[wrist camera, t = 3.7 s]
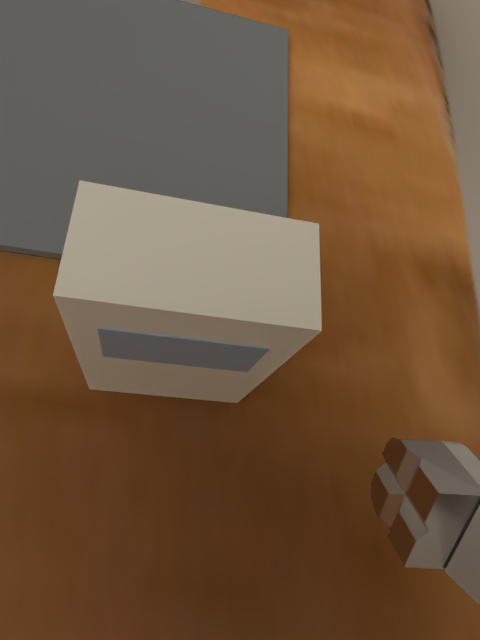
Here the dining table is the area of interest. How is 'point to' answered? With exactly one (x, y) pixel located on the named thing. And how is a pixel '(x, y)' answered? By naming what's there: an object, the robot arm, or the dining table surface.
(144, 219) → the card deck
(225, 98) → the mat
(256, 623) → the dining table surface
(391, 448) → the robot arm
